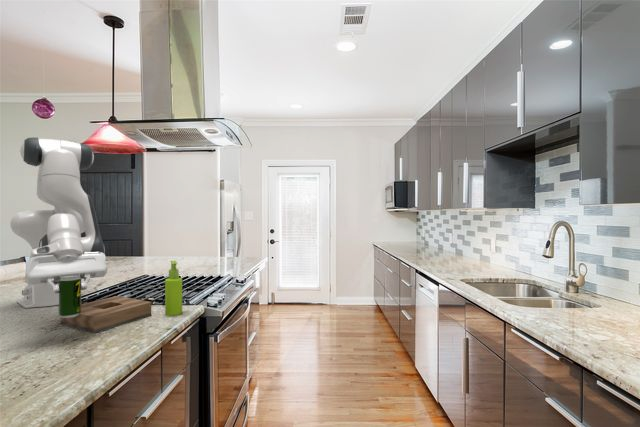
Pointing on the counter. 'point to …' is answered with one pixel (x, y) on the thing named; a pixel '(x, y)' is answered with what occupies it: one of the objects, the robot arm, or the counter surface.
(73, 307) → the beer can
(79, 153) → the robot arm
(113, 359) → the counter surface
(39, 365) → the counter surface
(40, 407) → the counter surface
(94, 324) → the socket board
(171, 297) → the soap dispenser
